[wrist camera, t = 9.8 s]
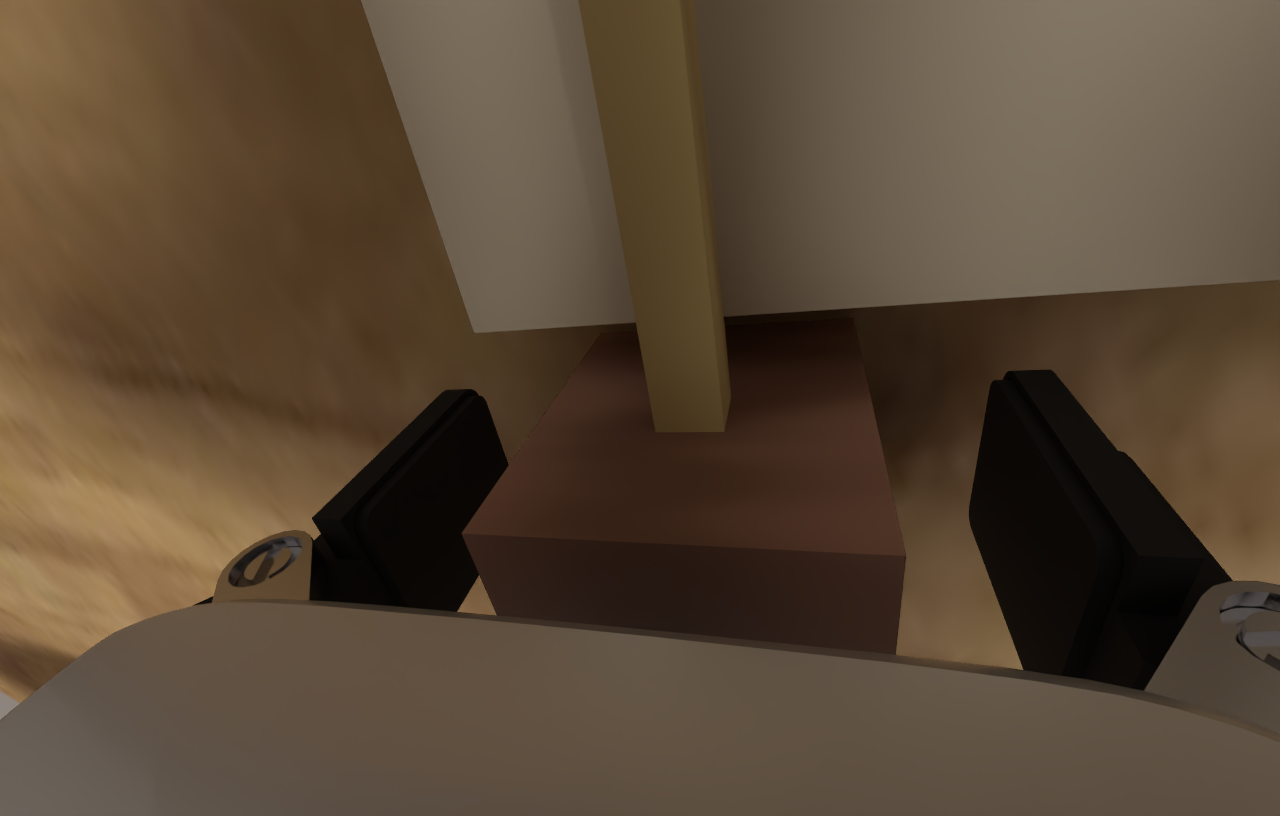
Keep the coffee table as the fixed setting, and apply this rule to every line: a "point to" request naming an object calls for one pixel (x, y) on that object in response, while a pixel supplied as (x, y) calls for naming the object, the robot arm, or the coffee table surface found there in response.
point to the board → (859, 150)
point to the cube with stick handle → (694, 416)
